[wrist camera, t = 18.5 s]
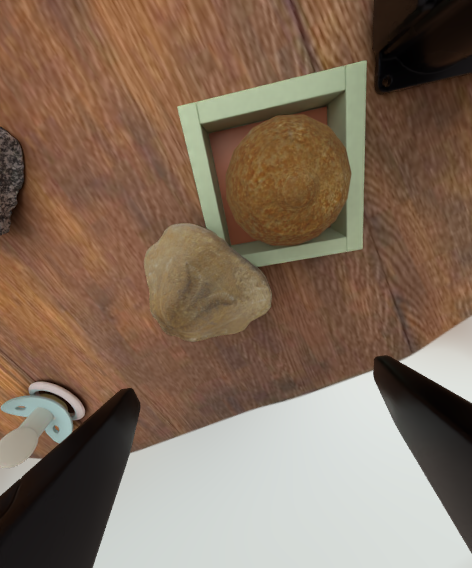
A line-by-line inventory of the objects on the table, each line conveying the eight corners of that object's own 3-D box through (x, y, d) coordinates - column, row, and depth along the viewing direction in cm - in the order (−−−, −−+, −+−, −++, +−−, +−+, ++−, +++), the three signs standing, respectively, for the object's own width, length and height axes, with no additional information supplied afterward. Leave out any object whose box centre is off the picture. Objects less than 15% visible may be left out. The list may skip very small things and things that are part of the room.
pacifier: (43, 367, 25) (12, 394, 27) (-14, 423, 19) (-50, 453, 21) (100, 406, 27) (68, 429, 29) (64, 466, 22) (26, 491, 23)
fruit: (218, 143, 16) (198, 115, 8) (316, 118, 15) (389, 63, 8) (239, 237, 18) (237, 279, 11) (324, 219, 17) (383, 251, 10)
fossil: (182, 190, 13) (140, 272, 20) (125, 231, 10) (101, 309, 18) (299, 295, 15) (220, 335, 22) (277, 356, 12) (195, 378, 19)
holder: (339, 85, 15) (367, 59, 12) (341, 236, 19) (362, 249, 15) (190, 120, 16) (176, 106, 12) (221, 257, 20) (217, 274, 16)
